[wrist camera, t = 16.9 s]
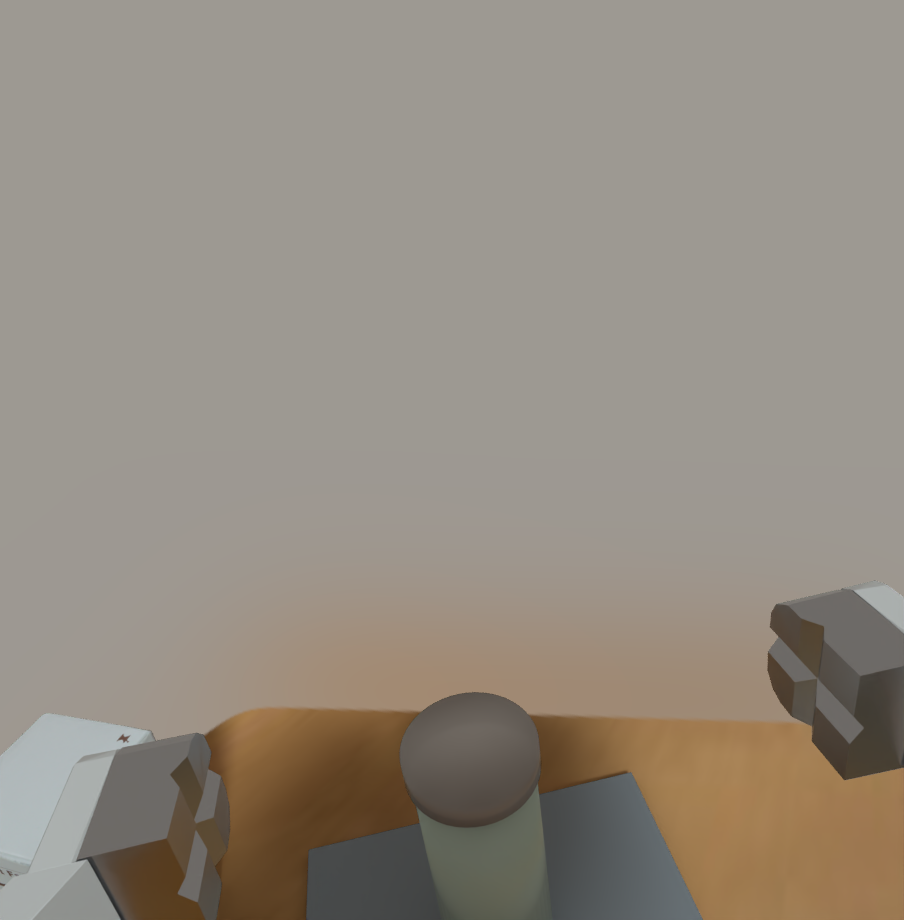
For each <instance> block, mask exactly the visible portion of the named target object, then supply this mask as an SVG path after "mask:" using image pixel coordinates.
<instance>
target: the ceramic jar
mask: <svg viewBox="0 0 904 920" xmlns="http://www.w3.org/2000/svg"><path fill="white" fill-rule="evenodd" d="M400 764H401V769H402V773H403V778H404V782H405V786H406V789H407V792H408V795H409V796H410V798H411V800H412V802H413V803H414V804H415V805H416V808H417V813H418V817H419V822H420V826H421V830H422V835H423V839H424V844H425V848H426V853H427V857H428V862H429V866H430V871H431V875H432V879H433V884H434V888H435V893H436V897H437V902H438V906H439V911H440V915H441V920H553V917H552V908H551V899H550V890H549V881H548V872H547V863H546V854H545V844H544V835H543V826H542V817H541V808H540V799H539V790H538V781H539V778H540V773H541V755H540V746H539V736H538V733H537V729H536V727H535V724H534V722H533V721H532V719H531V718H530V716H529V715H528V714H527V713H526V712H525V711H524V710H523V709H522V708H521V707H520V706H519V705H517V704H516V703H514V702H512V701H510V700H508V699H506V698H504V697H501V696H498V695H494V694H489V693H478V692H472V693H462V694H457V695H453V696H450V697H447V698H444V699H442V700H439V701H437V702H435V703H433V704H432V705H430V706H429V707H427V708H426V709H424V710H423V711H422V712H421V713H420V714H419V715H418V716H417V717H415V719H414V720H413V721H412V722H411V724H410V725H409V727H408V728H407V730H406V732H405V734H404V736H403V738H402V742H401V746H400Z"/></svg>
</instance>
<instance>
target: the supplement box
mask: <svg viewBox="0 0 904 920" xmlns="http://www.w3.org/2000/svg"><path fill="white" fill-rule="evenodd" d="M152 741H156V740H155V738H154V736H153V733H152V732H151V731H150V730H143V729H137V728H133V727H128V726H122V725H116V724H110V723H105V722H99V721H92V720H87V719H81V718H76V717H70V716H64V715H59V714H50V713H45V714H43V715H42V716H41V717H40V718H39V719H38V720H37V721H36V722H35V723H34V724H33V725H32V726H31V727H30V728H29V729H28V730H27V731H26V732H25V733H24V734H22V735H21V737H19V738H18V739H17V740H16V741H15V742H14V743H13V744H12V745H11V746H10V747H9V748H8V749H7V750H6V751H5V752H4V753H3V754H2V755H1V756H0V890H1V889H2V888H3V887H4V886H5V885H6V884H7V883H8V882H9V881H10V880H11V879H12V878H13V877H15V876H19V875H22V874H26V873H27V872H28V869H29V867H30V865H31V863H32V860H33V858H34V856H35V853H36V851H37V849H38V846H39V844H40V842H41V840H42V837H43V835H44V833H45V830H46V828H47V826H48V823H49V821H50V819H51V817H52V814H53V812H54V810H55V807H56V805H57V803H58V800H59V798H60V796H61V794H62V791H63V789H64V787H65V784H66V782H67V780H68V777H69V775H70V773H71V771H72V768H73V766H74V765H75V764H76V763H77V762H78V761H79V760H80V759H81V758H82V757H83V756H85V755H91V754H96V753H101V752H106V751H112V750H117V749H121V748H122V747H127V746H132V745H137V744H142V743H147V742H152Z"/></svg>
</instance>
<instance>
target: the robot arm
mask: <svg viewBox="0 0 904 920" xmlns="http://www.w3.org/2000/svg"><path fill="white" fill-rule="evenodd" d="M770 628H771V629H772V630H773V631H774V632H775V633H776V634H777V635H778V636H779V637H778V639H777V640H776V641H775V643H774V644H773V645H772V647H771V648H770V650H769V651H768V673H769V677H770V680H771V683H772V687H773V690H774V692H775V693H776V695H777V697H778V699H779V701H780V703H781V704H782V705H783V706H784V708H785V709H786V710H787V711H788V713H789V714H790V715H791V716H792V717H794V718H796V719H798V720H800V721H802V722H804V723H806V724H808V725H810V726H812V742H813V743H814V744H815V746H816V747H817V748H818V749H819V750H820V752H821V753H822V754H823V755H824V756H825V758H826V759H827V760H828V761H829V762H830V764H831V765H832V766H833V767H834V768H835V770H836V771H837V772H838V773H839V774H840V776H841V777H842V778H843V779H844V780H848V779H853V778H858V777H862V776H867V775H872V774H876V773H881V772H886V771H890V770H895V769H899V768H904V597H903V596H901V595H900V594H899V593H897V592H896V591H895V590H894V589H892V588H891V587H890V586H888V585H887V584H885V583H881V582H878V581H871V582H867V583H863V584H859V585H855V586H851V587H847V588H842V589H841V590H835V591H831V592H826V593H822V594H818V595H814V596H809V597H805V598H800V599H796V600H792V601H787V602H783V603H779V604H776V605H775V607H774V609H773V611H772V613H771V622H770ZM210 757H211V750H210V748H209V746H208V744H207V742H206V739H205V737H204V735H202V734H199V733H193V734H188V735H183V736H178V737H174V738H168V739H163V740H158V741H152V742H147V743H142V744H137V745H132V746H127V747H122V748H121V749H117V750H112V751H106V752H101V753H96V754H91V755H85V756H83V757H82V758H81V759H80V760H79V761H78V762H77V763H76V764H75V765H74V766H73V768H72V771H71V773H70V775H69V777H68V780H67V782H66V784H65V787H64V789H63V791H62V794H61V796H60V798H59V800H58V803H57V805H56V807H55V810H54V812H53V814H52V817H51V819H50V821H49V823H48V826H47V828H46V830H45V833H44V835H43V837H42V840H41V842H40V844H39V846H38V849H37V851H36V853H35V856H34V858H33V860H32V863H31V865H30V867H29V869H28V872H27V873H26V874H22V875H19V876H15V877H13V878H12V879H11V880H10V881H9V882H8V883H7V884H6V885H5V886H4V887H3V888H2V889H1V890H0V920H216V918H217V912H218V906H219V900H220V893H221V887H222V882H221V880H220V878H219V875H218V873H217V871H216V868H215V866H216V865H217V863H218V862H219V861H220V859H221V858H222V857H223V855H224V854H225V853H226V851H227V848H228V841H229V833H230V811H229V802H228V797H227V792H226V788H225V786H224V783H223V780H222V778H221V776H220V775H218V774H216V773H215V772H213V771H211V770H209V769H208V767H209V762H210Z"/></svg>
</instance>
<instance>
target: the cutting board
mask: <svg viewBox="0 0 904 920" xmlns="http://www.w3.org/2000/svg"><path fill="white" fill-rule="evenodd" d="M539 799H540V808H541V817H542V826H543V835H544V844H545V854H546V863H547V872H548V881H549V890H550V899H551V908H552V917H553V920H703V919H702V917H701V915H700V913H699V911H698V909H697V907H696V905H695V903H694V901H693V899H692V897H691V894H690V892H689V890H688V888H687V886H686V884H685V882H684V880H683V878H682V876H681V874H680V872H679V870H678V868H677V866H676V864H675V862H674V859H673V857H672V855H671V853H670V851H669V849H668V847H667V845H666V843H665V841H664V839H663V837H662V835H661V833H660V831H659V829H658V826H657V824H656V822H655V820H654V818H653V816H652V814H651V812H650V810H649V808H648V806H647V804H646V802H645V800H644V798H643V796H642V794H641V791H640V789H639V787H638V785H637V783H636V781H635V779H634V777H633V775H632V773H631V772H630V773H626V774H622V775H618V776H614V777H610V778H606V779H601V780H597V781H593V782H589V783H585V784H581V785H576V786H572V787H568V788H564V789H560V790H556V791H551V792H547V793H543V794H539ZM306 920H441V915H440V911H439V906H438V902H437V897H436V893H435V888H434V884H433V879H432V875H431V871H430V866H429V862H428V857H427V853H426V848H425V844H424V839H423V835H422V830H421V826H420V823H418V824H414V825H410V826H406V827H402V828H397V829H393V830H389V831H385V832H381V833H377V834H372V835H368V836H364V837H360V838H356V839H352V840H347V841H343V842H339V843H335V844H331V845H327V846H322V847H318V848H314V849H310V850H309V855H308V884H307V912H306Z"/></svg>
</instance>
